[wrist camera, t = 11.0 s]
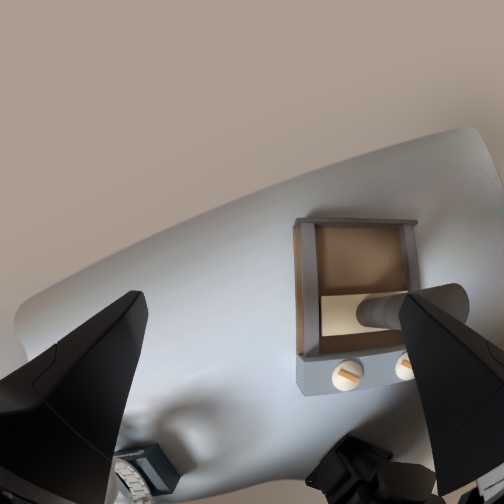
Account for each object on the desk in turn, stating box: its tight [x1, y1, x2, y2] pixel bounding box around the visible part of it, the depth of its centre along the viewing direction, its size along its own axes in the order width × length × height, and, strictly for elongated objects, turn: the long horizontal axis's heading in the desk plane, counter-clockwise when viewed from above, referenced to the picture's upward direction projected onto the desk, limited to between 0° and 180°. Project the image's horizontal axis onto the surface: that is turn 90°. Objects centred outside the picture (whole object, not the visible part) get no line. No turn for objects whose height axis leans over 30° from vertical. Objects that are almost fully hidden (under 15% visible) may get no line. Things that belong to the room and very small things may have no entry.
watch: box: [105, 443, 181, 504], centre depth 13 cm, size 6×8×11 cm
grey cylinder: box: [319, 283, 469, 336], centre depth 15 cm, size 3×8×11 cm, turn 91°
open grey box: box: [293, 218, 420, 358], centre depth 20 cm, size 13×11×2 cm
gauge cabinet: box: [296, 344, 415, 396], centre depth 18 cm, size 2×11×4 cm, turn 91°
